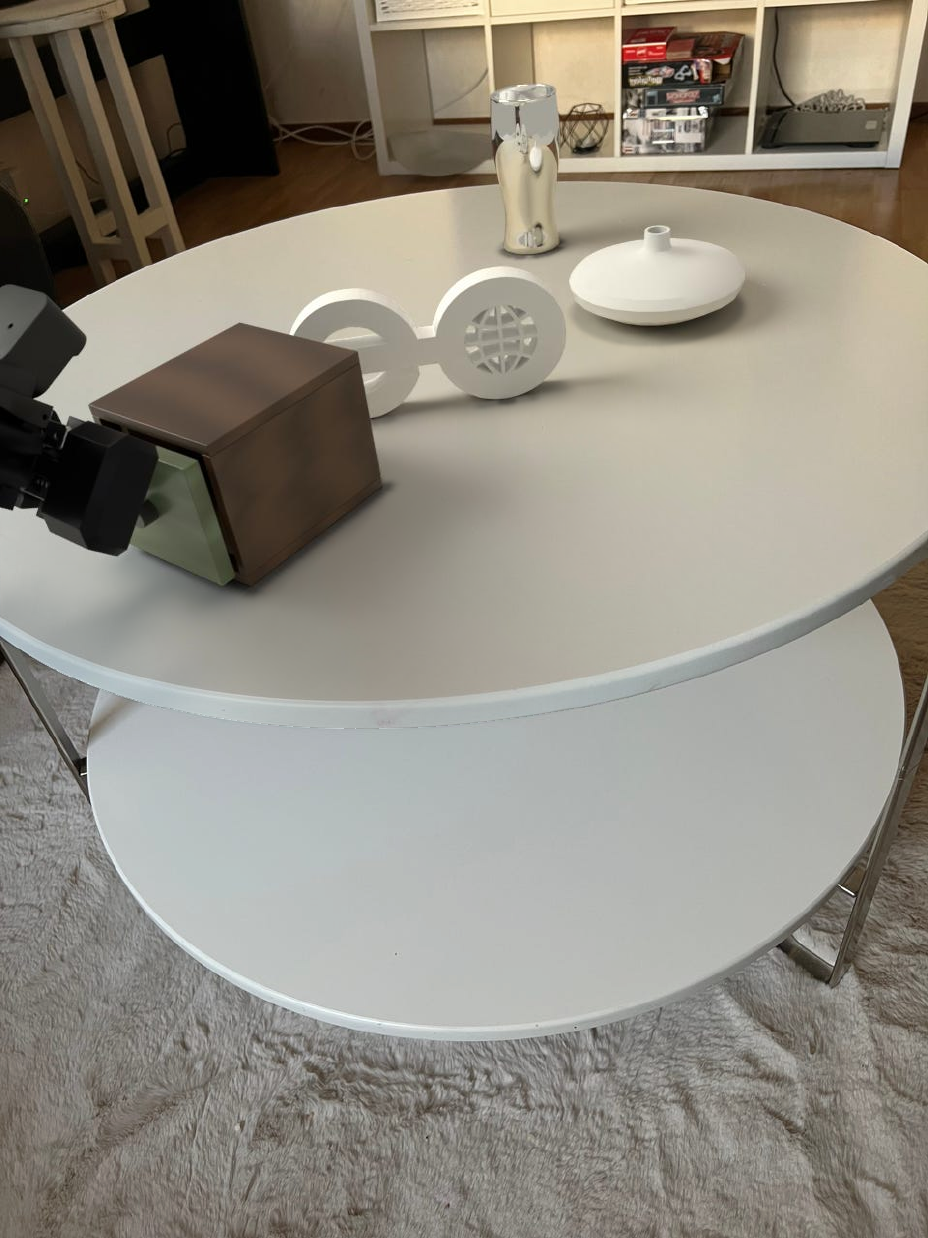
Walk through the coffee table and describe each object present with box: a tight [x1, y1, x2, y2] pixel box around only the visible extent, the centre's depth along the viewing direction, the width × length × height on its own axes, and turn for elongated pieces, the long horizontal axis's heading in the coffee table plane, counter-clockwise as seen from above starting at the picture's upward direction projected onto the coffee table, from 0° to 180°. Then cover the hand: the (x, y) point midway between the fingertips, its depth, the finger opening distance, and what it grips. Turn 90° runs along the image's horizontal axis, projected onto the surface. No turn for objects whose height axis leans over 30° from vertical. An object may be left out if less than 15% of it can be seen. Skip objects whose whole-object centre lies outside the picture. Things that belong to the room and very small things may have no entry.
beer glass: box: [489, 83, 561, 256], centre depth 101 cm, size 7×7×15 cm
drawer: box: [120, 425, 235, 587], centre depth 66 cm, size 14×10×9 cm
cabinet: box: [87, 322, 383, 587], centre depth 68 cm, size 14×12×11 cm
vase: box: [568, 225, 746, 326], centre depth 88 cm, size 16×16×7 cm
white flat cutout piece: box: [289, 265, 567, 419], centre depth 78 cm, size 22×2×10 cm, turn 97°
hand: (139, 492), depth 62 cm, fingers closed, pressing on drawer
